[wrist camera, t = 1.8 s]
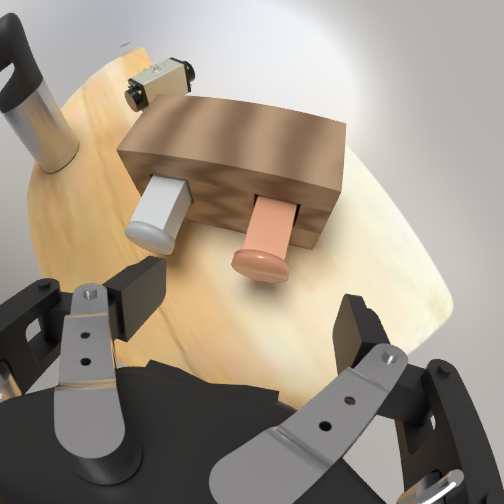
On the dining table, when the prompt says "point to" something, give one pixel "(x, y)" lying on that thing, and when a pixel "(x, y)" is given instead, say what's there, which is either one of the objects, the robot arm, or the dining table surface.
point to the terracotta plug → (267, 241)
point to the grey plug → (160, 214)
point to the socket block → (240, 159)
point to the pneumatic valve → (159, 83)
